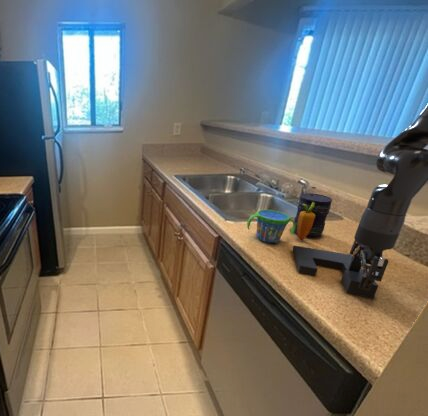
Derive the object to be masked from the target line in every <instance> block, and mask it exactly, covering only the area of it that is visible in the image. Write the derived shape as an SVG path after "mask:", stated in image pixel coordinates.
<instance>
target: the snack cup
mask: <svg viewBox="0 0 428 416" xmlns="http://www.w3.org/2000/svg"><path fill="white" fill-rule="evenodd" d="M255 218H256V219H257V220H256V238H257V239H259V241H262V242H264V243H269V244H272V243H274V244H277V243H278V242H279V241H280V240H281V238H282V236H283V234H284V231H285V229H286V227H287V226H288V224H289V222H290V221H291V222H292V227H291V229H290V231H289V232H290V234H291V235H294V234H295V233H294V232H295V229H296V224H295V222H294V219H293V218H292V217H290V216H289V215H288V214H286V213H284V212H281V211H278V210H274V209H260V210H258V211H257V212H256V213H253V214H252V215H251V216H249V218H248V219H247V222H246V225H247V230H250V227H251V222H252V220H253V219H255Z"/></svg>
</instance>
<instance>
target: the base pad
mask: <svg viewBox="0 0 428 416" xmlns="http://www.w3.org/2000/svg"><path fill="white" fill-rule="evenodd" d="M292 246H293V247H292V251H291V252H292V256H293V260H294V263H295V265H296V268H297V272H298V274H304V275H308V276H313V277H315V276H316V275H317V271H318V267H323V268H329V269H334V270H340V271H341V273H342V275H343V274H344V271H345V270H348V269H349V266H350V264H351V261H352V260H353V259H351V256H352V255H351V254H350V253H349V254H348V253H343V252H336V251H332V250H331V251H330V250H325V249H320V248H319V249H317V248H313V247H307V246H301V245H292ZM348 271H349V270H348ZM359 273H363V268H362V267H361V269H360V271H359Z"/></svg>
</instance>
